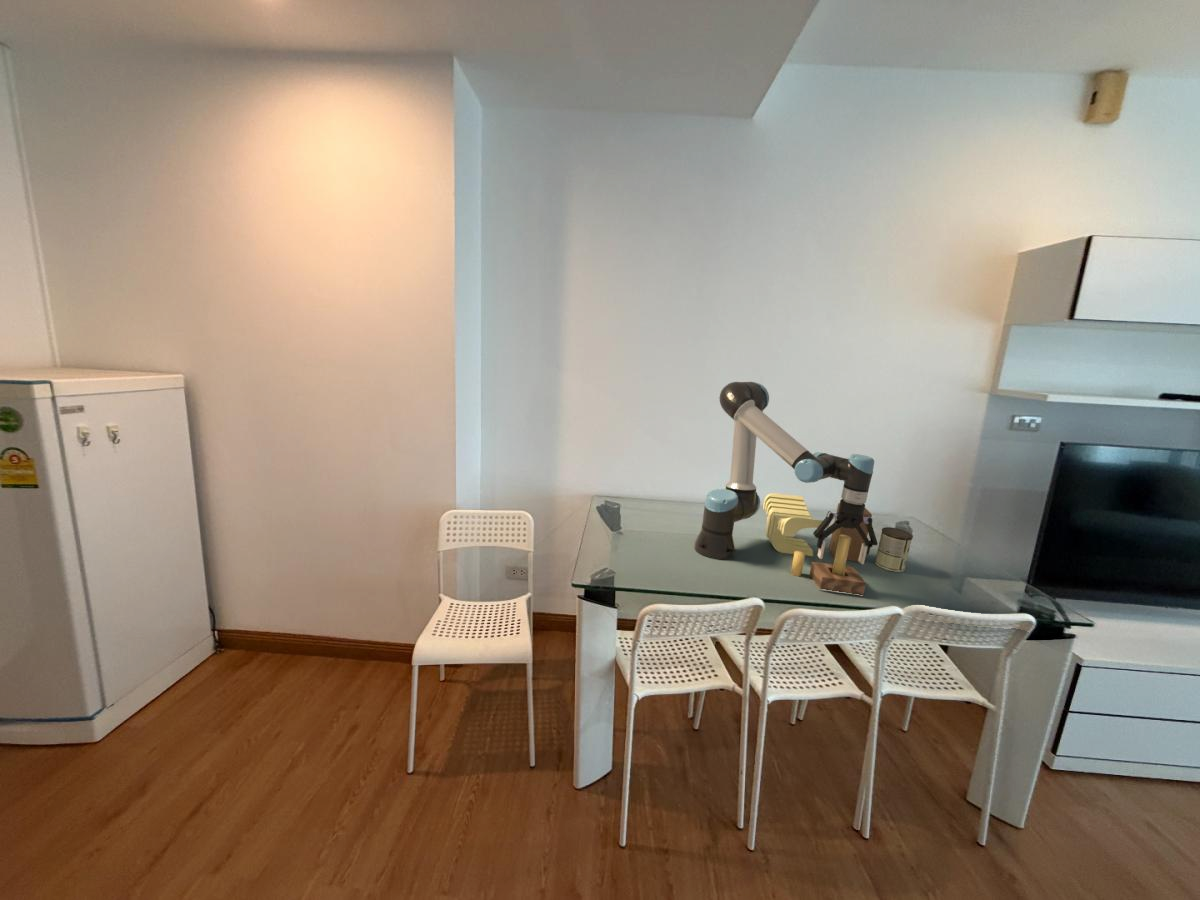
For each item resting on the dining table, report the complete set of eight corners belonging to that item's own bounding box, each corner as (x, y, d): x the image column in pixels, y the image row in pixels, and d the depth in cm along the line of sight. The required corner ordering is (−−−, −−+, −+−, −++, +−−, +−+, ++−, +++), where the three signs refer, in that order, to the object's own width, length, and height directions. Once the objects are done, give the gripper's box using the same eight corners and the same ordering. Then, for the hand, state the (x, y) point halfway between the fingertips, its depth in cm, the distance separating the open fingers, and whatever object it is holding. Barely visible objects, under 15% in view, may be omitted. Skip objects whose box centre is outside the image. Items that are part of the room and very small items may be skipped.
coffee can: (872, 558, 199) (879, 525, 196) (901, 563, 196) (909, 530, 193) (877, 568, 190) (885, 533, 187) (907, 574, 187) (916, 539, 183)
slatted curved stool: (758, 531, 218) (765, 492, 214) (795, 535, 217) (803, 496, 213) (778, 560, 188) (786, 516, 184) (820, 565, 188) (829, 521, 184)
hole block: (819, 590, 167) (822, 577, 166) (809, 574, 179) (812, 561, 178) (863, 596, 166) (866, 582, 165) (849, 579, 178) (852, 567, 177)
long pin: (831, 586, 171) (841, 538, 167) (828, 582, 174) (838, 534, 170) (842, 588, 171) (852, 539, 166) (838, 583, 174) (849, 535, 170)
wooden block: (861, 562, 194) (872, 514, 189) (834, 558, 195) (844, 510, 191) (854, 552, 203) (864, 506, 199) (828, 548, 205) (837, 502, 201)
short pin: (791, 575, 177) (795, 554, 175) (789, 570, 181) (793, 550, 179) (802, 576, 177) (806, 556, 175) (799, 572, 180) (803, 551, 178)
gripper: (817, 499, 163) (805, 559, 168) (897, 509, 161) (883, 569, 166) (811, 493, 171) (799, 550, 175) (887, 502, 168) (873, 560, 173)
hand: (840, 559), depth 170 cm, fingers open, 13 cm apart
